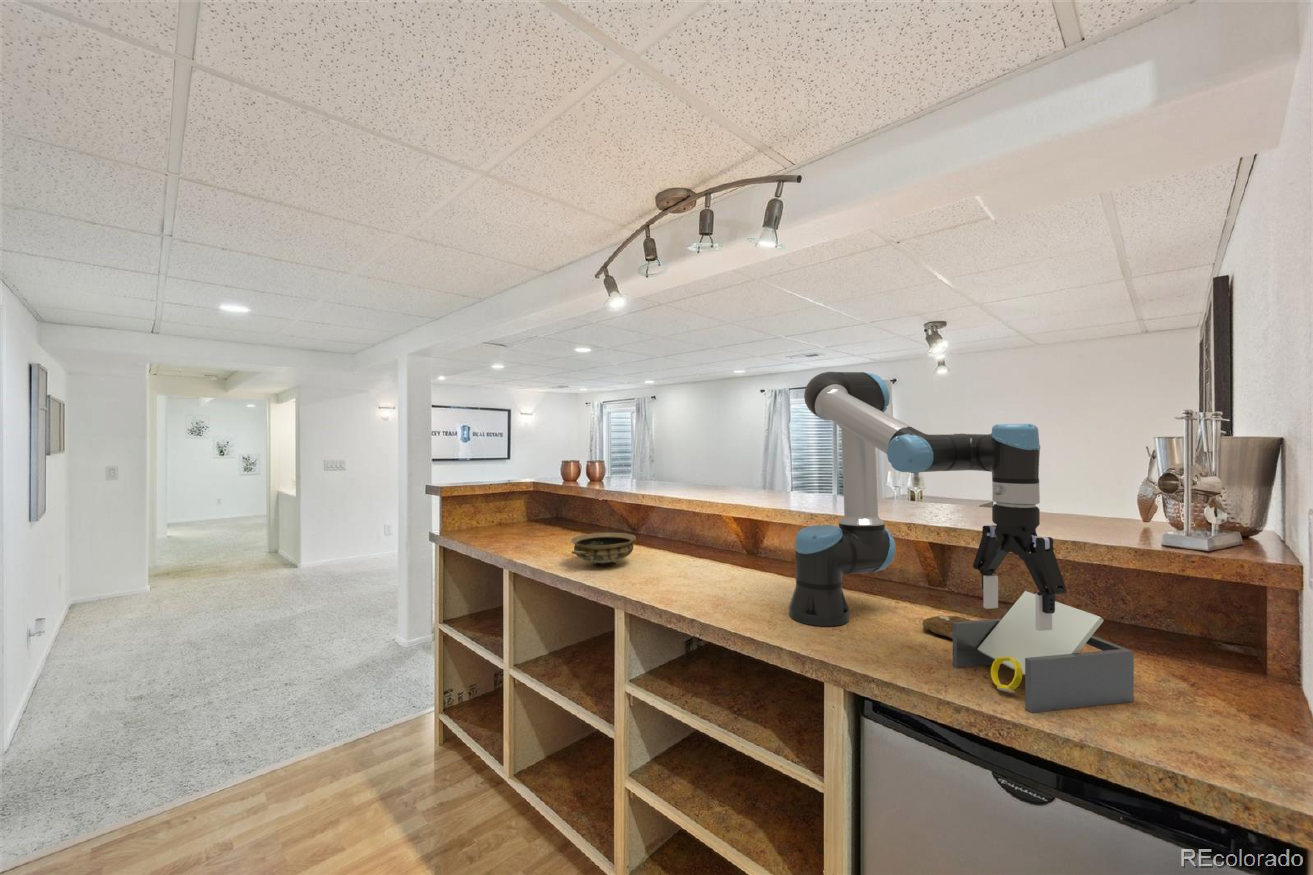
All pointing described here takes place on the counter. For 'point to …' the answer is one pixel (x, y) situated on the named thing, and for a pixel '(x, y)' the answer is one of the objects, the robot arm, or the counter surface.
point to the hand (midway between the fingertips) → (1015, 618)
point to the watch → (1016, 679)
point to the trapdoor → (1038, 632)
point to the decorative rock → (942, 624)
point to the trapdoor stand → (1057, 671)
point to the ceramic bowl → (603, 547)
